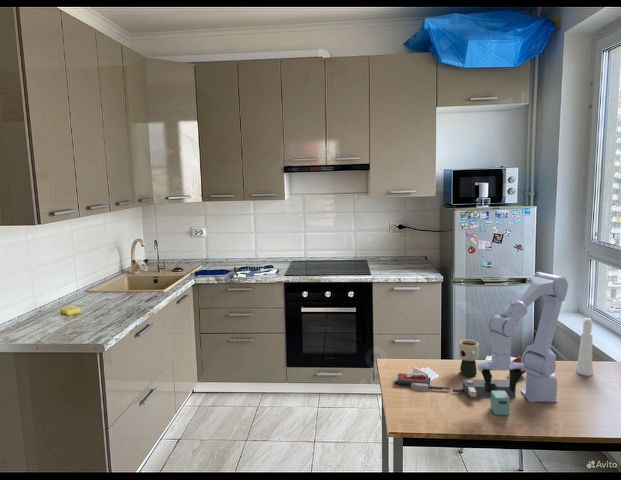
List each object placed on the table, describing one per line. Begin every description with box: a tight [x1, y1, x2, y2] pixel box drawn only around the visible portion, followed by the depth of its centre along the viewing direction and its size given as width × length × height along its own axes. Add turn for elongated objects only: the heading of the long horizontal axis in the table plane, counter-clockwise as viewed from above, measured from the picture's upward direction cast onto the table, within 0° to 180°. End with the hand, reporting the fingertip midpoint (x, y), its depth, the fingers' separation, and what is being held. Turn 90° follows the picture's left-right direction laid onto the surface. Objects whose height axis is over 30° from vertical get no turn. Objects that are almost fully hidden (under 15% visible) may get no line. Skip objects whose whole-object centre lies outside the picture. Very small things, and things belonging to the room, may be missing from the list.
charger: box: [490, 391, 511, 416], centre depth 155 cm, size 4×7×6 cm, turn 176°
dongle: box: [468, 387, 477, 398], centre depth 163 cm, size 2×4×2 cm, turn 176°
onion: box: [511, 355, 526, 375], centre depth 180 cm, size 6×6×8 cm
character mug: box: [458, 339, 480, 377], centre depth 182 cm, size 11×7×13 cm, turn 0°
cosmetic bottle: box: [575, 317, 594, 377], centre depth 180 cm, size 6×6×22 cm
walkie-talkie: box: [394, 372, 451, 392], centre depth 174 cm, size 9×4×20 cm
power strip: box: [452, 378, 517, 398], centre depth 167 cm, size 21×6×5 cm, turn 86°
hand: (500, 390), depth 154 cm, fingers open, 7 cm apart
